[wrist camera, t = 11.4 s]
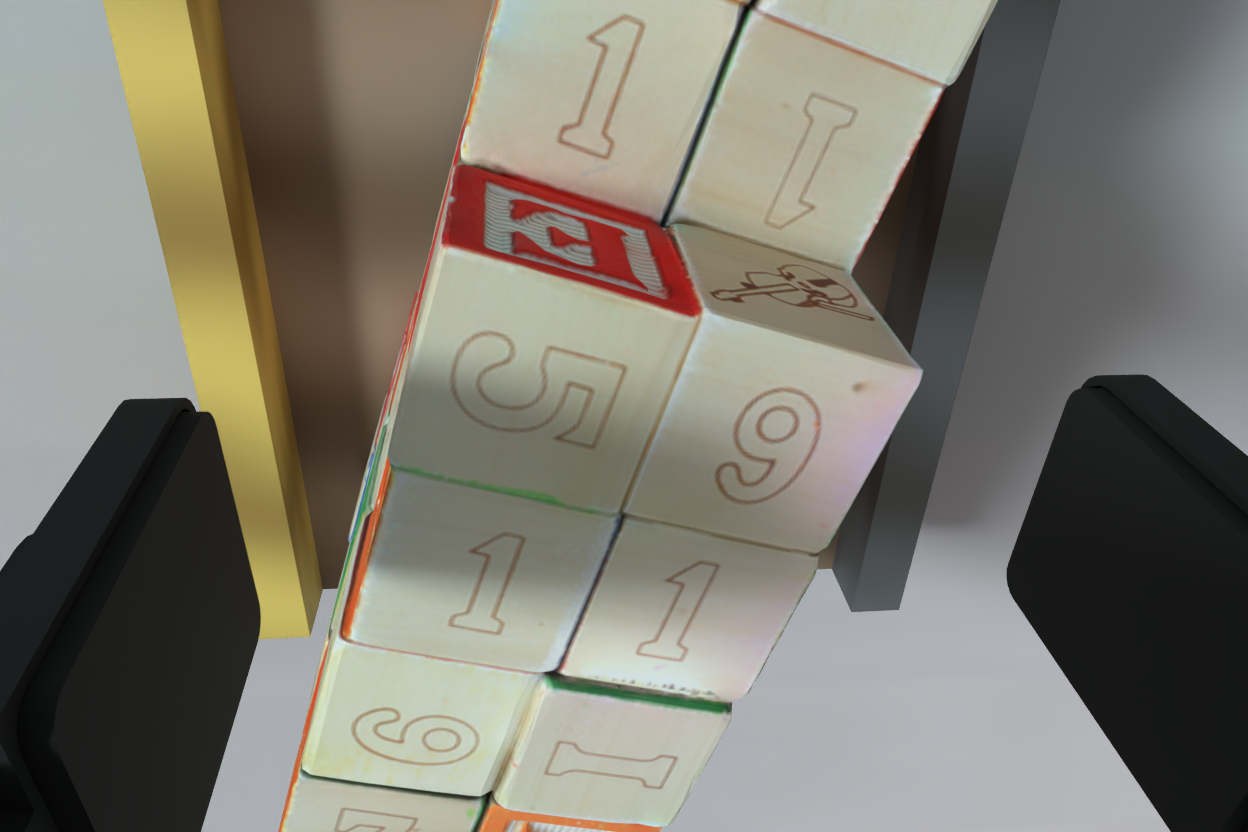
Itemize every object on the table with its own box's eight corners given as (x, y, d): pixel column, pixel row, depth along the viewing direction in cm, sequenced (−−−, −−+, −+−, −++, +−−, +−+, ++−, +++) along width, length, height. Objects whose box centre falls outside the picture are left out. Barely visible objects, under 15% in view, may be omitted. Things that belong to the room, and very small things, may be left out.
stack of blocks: (617, -489, 16) (824, -1222, 5) (921, -325, 17) (1550, -625, 7) (362, 479, 25) (255, 906, 15) (571, 526, 27) (608, 939, 17)
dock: (88, -528, 17) (-56, -662, 13) (1046, -443, 19) (1201, -534, 15) (292, 528, 30) (255, 639, 25) (847, 510, 32) (898, 609, 27)
